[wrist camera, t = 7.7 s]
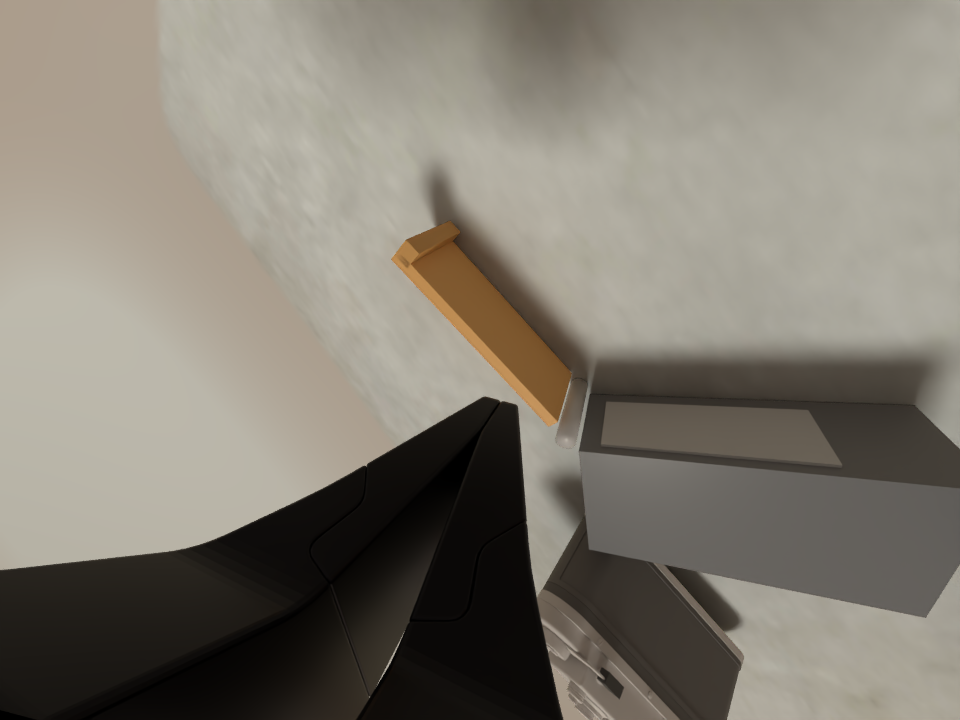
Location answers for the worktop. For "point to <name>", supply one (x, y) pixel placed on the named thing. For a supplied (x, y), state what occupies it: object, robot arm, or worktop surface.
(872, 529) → the case
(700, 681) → the camera
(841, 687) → the worktop surface
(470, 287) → the brown rectangular block
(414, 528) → the robot arm
